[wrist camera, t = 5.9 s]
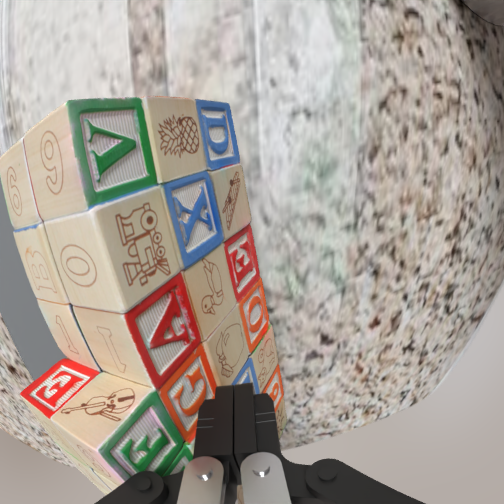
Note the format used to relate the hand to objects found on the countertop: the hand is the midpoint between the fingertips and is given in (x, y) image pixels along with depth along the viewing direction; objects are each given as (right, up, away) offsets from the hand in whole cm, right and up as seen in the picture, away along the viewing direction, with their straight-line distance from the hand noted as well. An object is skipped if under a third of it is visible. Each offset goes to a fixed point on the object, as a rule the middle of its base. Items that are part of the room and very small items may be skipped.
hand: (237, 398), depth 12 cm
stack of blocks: (-1, +3, +7) cm, 8 cm away
